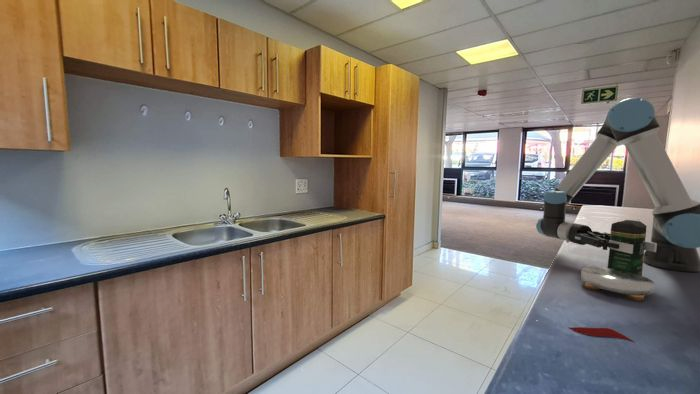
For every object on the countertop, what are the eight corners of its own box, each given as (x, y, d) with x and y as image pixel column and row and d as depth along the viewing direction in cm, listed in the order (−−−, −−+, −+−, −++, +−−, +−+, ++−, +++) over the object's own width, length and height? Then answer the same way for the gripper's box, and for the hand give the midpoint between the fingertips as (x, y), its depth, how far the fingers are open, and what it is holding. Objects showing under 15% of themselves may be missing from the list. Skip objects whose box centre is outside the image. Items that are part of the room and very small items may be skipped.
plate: (608, 278, 97) (609, 265, 97) (668, 299, 81) (669, 284, 81) (567, 282, 94) (568, 268, 94) (621, 304, 79) (623, 288, 78)
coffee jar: (635, 283, 90) (641, 223, 88) (603, 275, 97) (607, 220, 95) (645, 277, 95) (650, 220, 93) (614, 270, 102) (618, 217, 100)
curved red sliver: (635, 340, 63) (636, 332, 63) (639, 351, 59) (640, 342, 59) (566, 322, 70) (566, 315, 70) (565, 331, 66) (566, 323, 66)
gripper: (597, 241, 115) (669, 258, 93) (551, 244, 111) (615, 262, 89) (598, 222, 114) (671, 235, 92) (552, 224, 110) (616, 238, 88)
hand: (643, 248), depth 90 cm, fingers closed on coffee jar, 8 cm apart
